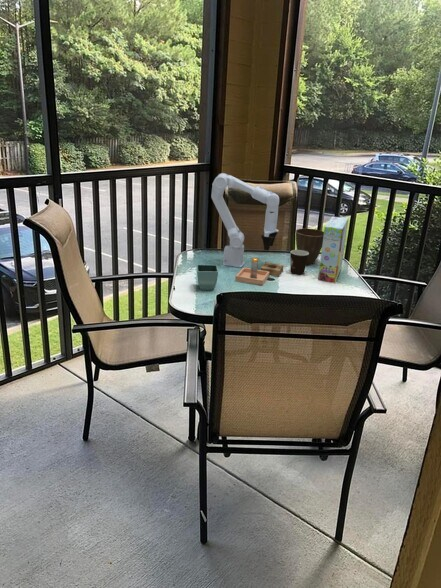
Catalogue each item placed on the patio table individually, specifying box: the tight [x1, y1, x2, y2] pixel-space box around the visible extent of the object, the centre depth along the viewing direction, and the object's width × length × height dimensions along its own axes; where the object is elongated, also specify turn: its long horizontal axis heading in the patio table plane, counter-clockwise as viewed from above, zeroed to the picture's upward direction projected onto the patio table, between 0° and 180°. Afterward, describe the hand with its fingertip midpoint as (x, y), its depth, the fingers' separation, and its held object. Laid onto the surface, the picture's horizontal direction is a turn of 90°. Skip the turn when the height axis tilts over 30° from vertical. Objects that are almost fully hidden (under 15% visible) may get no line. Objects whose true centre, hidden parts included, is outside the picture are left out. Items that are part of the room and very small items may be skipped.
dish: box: [234, 267, 270, 286], centre depth 208 cm, size 13×13×2 cm
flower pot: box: [196, 264, 219, 291], centre depth 194 cm, size 9×9×9 cm
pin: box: [250, 257, 259, 279], centre depth 206 cm, size 3×3×9 cm
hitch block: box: [260, 262, 284, 278], centre depth 217 cm, size 9×9×3 cm
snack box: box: [317, 216, 349, 284], centre depth 214 cm, size 22×9×26 cm, turn 159°
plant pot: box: [295, 228, 324, 266], centre depth 231 cm, size 15×15×16 cm
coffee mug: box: [289, 249, 309, 276], centre depth 219 cm, size 12×9×10 cm
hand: (268, 247), depth 220 cm, fingers open, 7 cm apart
